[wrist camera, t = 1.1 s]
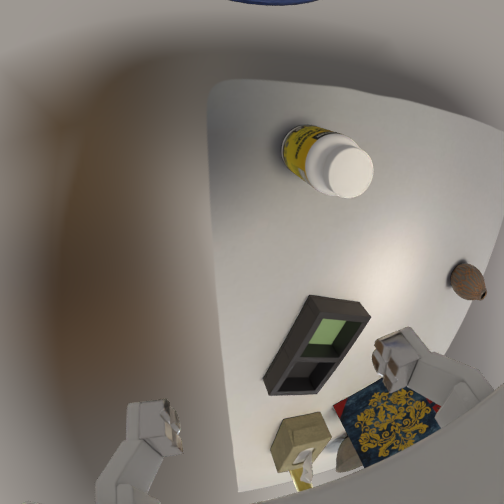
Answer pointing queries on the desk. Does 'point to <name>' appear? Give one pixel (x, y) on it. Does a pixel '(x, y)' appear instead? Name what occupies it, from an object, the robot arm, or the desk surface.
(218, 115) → the desk surface
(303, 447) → the tissue box
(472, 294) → the vase
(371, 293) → the desk surface
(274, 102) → the desk surface
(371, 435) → the book
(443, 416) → the robot arm
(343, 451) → the bowl
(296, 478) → the vase
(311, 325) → the holder
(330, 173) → the pill bottle
